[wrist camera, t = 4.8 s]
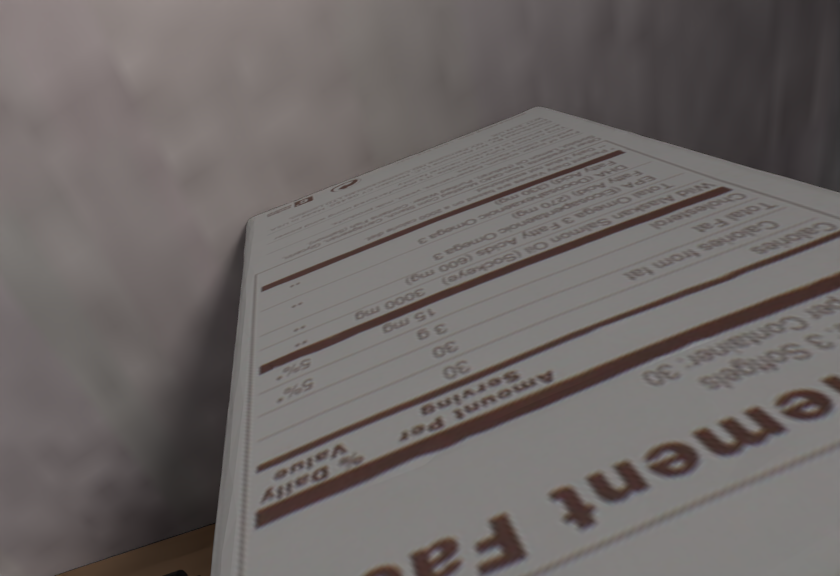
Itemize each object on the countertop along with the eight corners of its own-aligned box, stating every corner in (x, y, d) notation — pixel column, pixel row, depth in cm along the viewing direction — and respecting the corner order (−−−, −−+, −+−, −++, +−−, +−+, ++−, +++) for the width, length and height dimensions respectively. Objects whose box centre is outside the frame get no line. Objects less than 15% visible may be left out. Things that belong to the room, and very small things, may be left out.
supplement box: (601, 355, 18) (1199, 946, 6) (351, 456, 17) (518, 1302, 6) (544, 93, 15) (1521, 343, 3) (235, 207, 14) (111, 987, 3)
